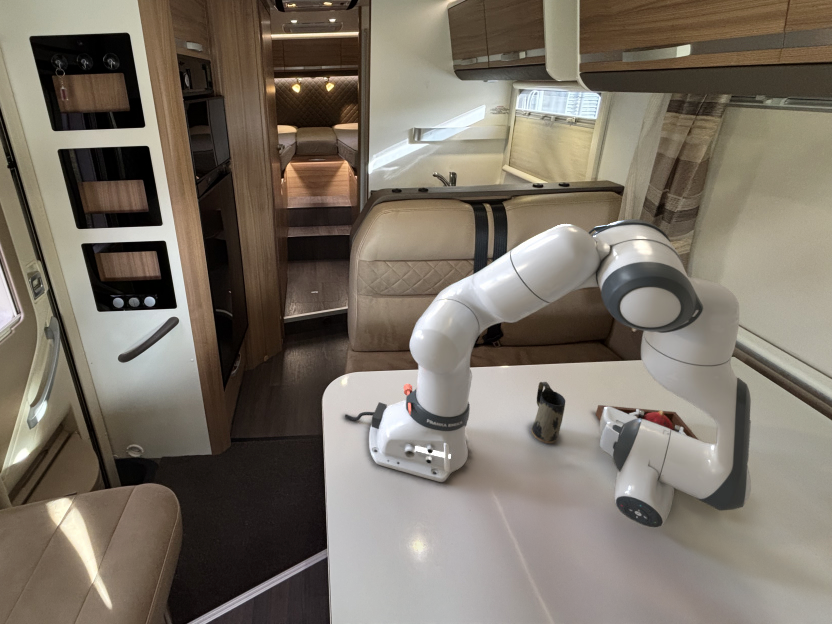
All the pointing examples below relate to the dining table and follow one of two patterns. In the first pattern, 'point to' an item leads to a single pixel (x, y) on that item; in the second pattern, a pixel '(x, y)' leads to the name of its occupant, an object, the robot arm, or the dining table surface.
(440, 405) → the robot arm
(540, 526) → the dining table surface
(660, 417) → the onion
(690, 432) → the tray
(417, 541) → the dining table surface
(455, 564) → the dining table surface
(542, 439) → the mug
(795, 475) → the dining table surface
